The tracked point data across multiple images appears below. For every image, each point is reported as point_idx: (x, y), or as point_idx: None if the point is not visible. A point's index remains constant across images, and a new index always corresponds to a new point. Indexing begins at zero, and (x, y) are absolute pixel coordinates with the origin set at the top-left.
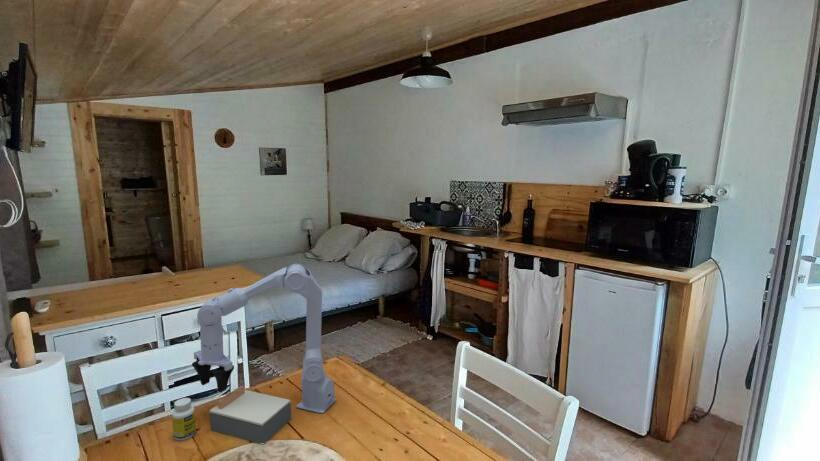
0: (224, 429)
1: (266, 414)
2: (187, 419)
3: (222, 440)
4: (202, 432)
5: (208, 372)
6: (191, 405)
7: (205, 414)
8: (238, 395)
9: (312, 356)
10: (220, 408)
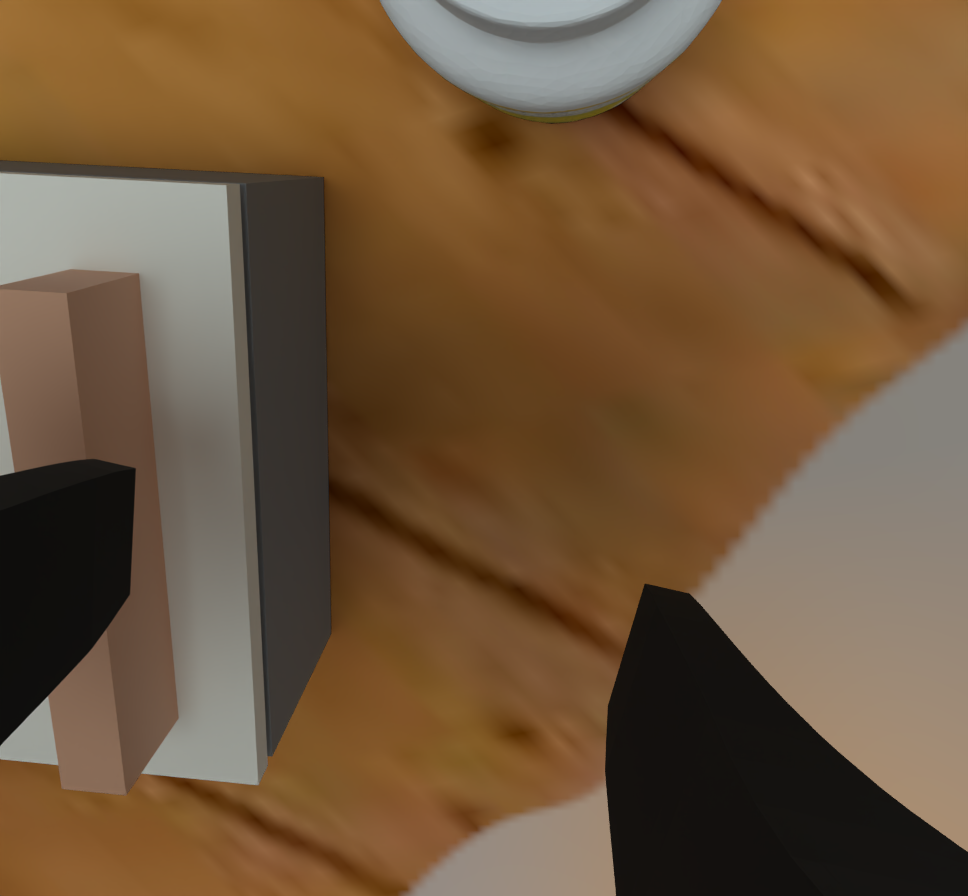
0: (82, 166)
1: None
2: None
3: (38, 52)
4: (384, 105)
5: (635, 892)
6: (505, 74)
7: (630, 416)
8: None
9: None
10: (83, 273)
